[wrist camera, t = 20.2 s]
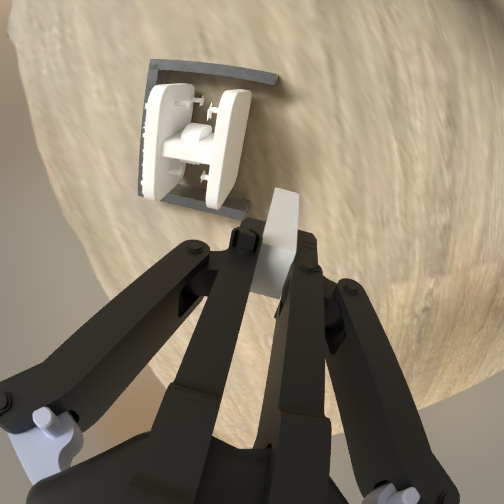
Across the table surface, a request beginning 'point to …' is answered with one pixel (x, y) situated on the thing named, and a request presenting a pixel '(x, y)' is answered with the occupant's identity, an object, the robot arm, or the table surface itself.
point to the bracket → (156, 76)
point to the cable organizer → (192, 141)
